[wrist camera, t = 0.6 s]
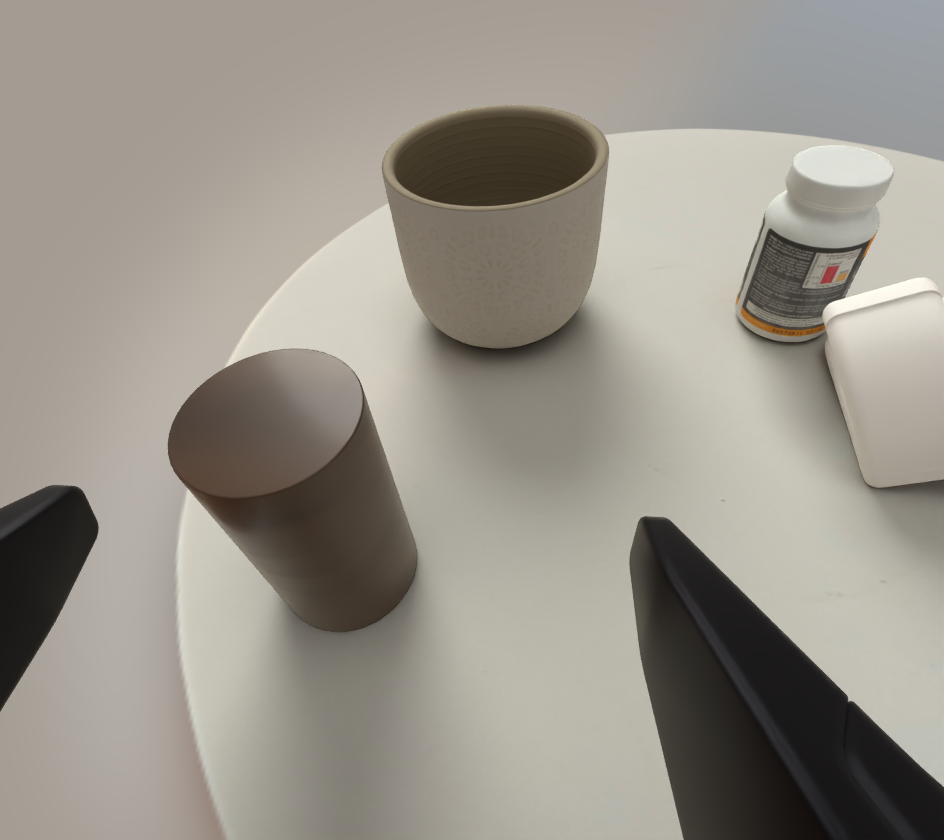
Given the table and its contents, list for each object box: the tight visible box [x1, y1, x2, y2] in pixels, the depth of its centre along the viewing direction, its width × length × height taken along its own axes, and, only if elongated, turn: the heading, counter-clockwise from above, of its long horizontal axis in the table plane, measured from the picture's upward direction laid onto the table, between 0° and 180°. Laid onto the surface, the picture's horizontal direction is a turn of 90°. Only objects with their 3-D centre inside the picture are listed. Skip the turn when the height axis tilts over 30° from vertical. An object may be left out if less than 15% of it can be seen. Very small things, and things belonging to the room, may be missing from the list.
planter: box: [382, 105, 609, 348], centre depth 35 cm, size 12×12×11 cm
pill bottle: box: [736, 145, 894, 342], centre depth 32 cm, size 6×6×10 cm
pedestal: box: [168, 349, 417, 631], centre depth 23 cm, size 7×7×11 cm
